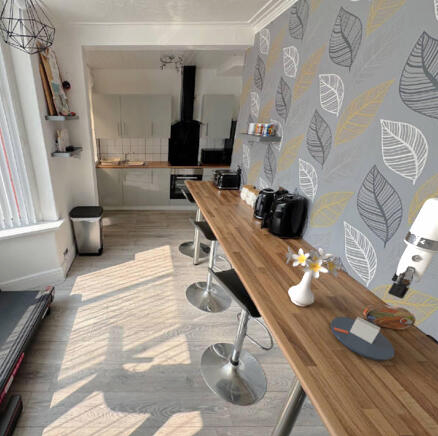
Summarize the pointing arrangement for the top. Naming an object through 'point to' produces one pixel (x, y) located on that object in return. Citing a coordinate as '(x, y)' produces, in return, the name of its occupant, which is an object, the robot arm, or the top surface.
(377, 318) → the tin
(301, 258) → the flower vase
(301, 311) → the top surface
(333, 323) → the rotary dial knob
